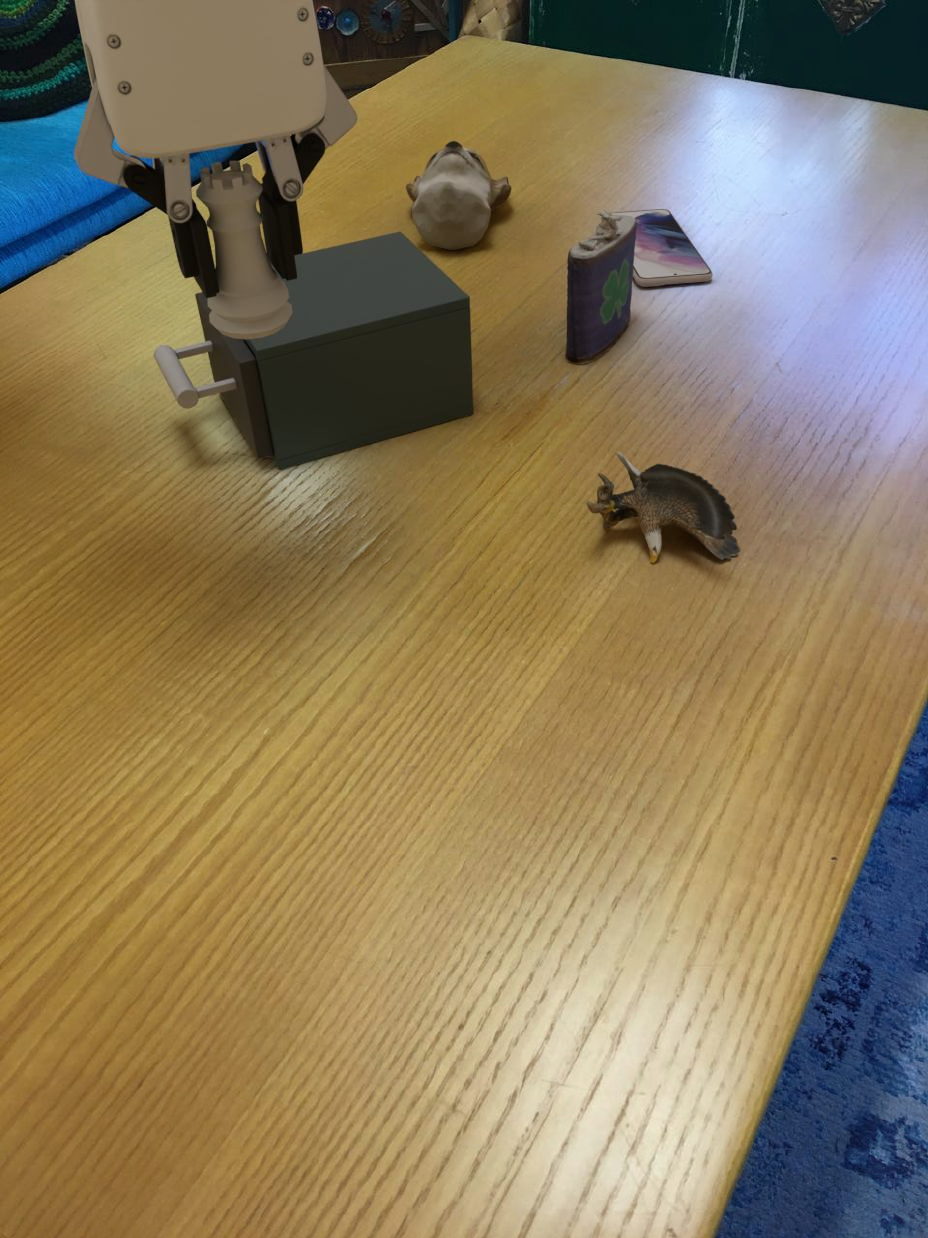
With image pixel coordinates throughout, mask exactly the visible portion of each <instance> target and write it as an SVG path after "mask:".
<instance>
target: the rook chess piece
mask: <svg viewBox="0 0 928 1238" xmlns="http://www.w3.org/2000/svg"><path fill="white" fill-rule="evenodd" d="M222 165H223V164H222V162H221V161H217V162H213V163H210V166H211V172H212V173H211V172H210V168H209V167H207V166H203V167H202V168H201V169H200V170H199V173H200V174H199V175H200V183H199V185H198V187H197V189H196V191H195V197H196V198H197V199H198V200H199V201H200V202H201V203H202V204H203V205H204V206H206V208H207V209H208V213H209V216H208V217H207V219H206V224H207V228H208V229H210V230H211V233H212V238H213V243H214V259H215V261H214V262H215V270H216V275H217V280H218V286H219V291H220V292H219V293H216V295H217V296H215V297H211V298H207V300H208V307H209V308H210V309H211V310H212V311H211V313H210V314H209V321H210V323H211V324H212V325H213V326H214V327H215V328H216V329H217V330H219V331H220V332H221V333H222V334H223V335H226V336H228V337H231V338H235V339H255V338H262V337H265V336H269V335H272V334H274V333H276V332H278V331H279V330H281V329H282V328H284V326H285V325H286V323H287V322H288V320H289V318H290V316H291V315H292V313H293V311H292V305H291V304H290V303H288V302H287V300H288V298H289V293H288V289H287V287H286V285H285V283H284V282H283V281H281V280H280V279H279V278H278V275H277V271H275V270H274V269H273V268H272V266H271V264H270V262H269V259H268V256H267V252H266V246H265V242H264V238H263V235H262V232H261V225H262V221H263V217H262V215H261V214H260V211H258V208H257V202H258V198H259V196H260V194H261V192H262V190H263V188H262V184H261V183H262V182H260V181H259V180H258V179H257V178H256V177H255V176H254V173H253V168H252V167H253V166H252V165H251V164H249V163H248V162H246V163H242V166H241V161H240V160H229V169H228V170H227V169H226V170H223V166H222Z"/></svg>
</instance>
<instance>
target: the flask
mask: <svg viewBox="0 0 928 1238" xmlns="http://www.w3.org/2000/svg"><path fill="white" fill-rule="evenodd" d="M610 213H611V212H607V211H606V210H602V211H597V212H596V215H597V216H599V217H600V218H601V217H602V219H603V221H601V222H600V223H599V224H598V226H597V227H596V229H595V233H594V234H593V235H591V236H590V237H587V238H586V239H585V240H582V239H580V240H579V241H578V243H576V244H573V246H571V248H570V249H569V250H568V254H567V259H566V261H567V262H566V263H567V268H566V269H567V275H566V278H567V280H566V284H567V285H566V286H567V288H566V297H567V298H566V348H565V359H566V362H567V363H572V364H574V365H585V364H589V363H591V362H593V361H595V360H597V359H598V358H600V357H601V356H603V355H604V354H606V352H608V351H610V349H612V347H613V346H614V345H615V344H617V343H616V342H617V341H618V340H619V339H620V338H621V337H622V335H623V334H624V333H625V332H626V331H627V329H628V327H629V324H630V320H631V311H632V310H631V303H632V295H633V278H634V277H633V264H634V251H635V240H636V229H637V221H636V219H635V218H633V217H632V216H627V215H614V214H610Z"/></svg>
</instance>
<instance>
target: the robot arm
mask: <svg viewBox="0 0 928 1238" xmlns="http://www.w3.org/2000/svg"><path fill="white" fill-rule="evenodd" d="M74 5H75V10H76V16H77V21H78V26H79V31H80V35H81V36H80V37H81V42H82V47H83V52H84V56H85V61H86V66H87V71H88V76H89V80H90V84H91V90H90V93H89V98H88V101H87V105H86V108H85V111H84V115H83V118H82V122H81V125H80V128H79V133H78V137H77V140H76V143H75V145H74V150H73V157H74V158H73V159H74V161H75V162H76V164H77V166H78V169H80V171H81V172H82V173H83V174H85V175H87V176H90V177H92V178H96V179H98V180H100V181H104V182H107V183H109V184H113V185H114V186H120V187H122V188H126V189H128V190H130V191H131V192H132V193H134V195H137V196H138V197H140V198H141V199H143V200H144V201H145V202H147V203H148V204H151V206H153V207H154V208H156V209H157V210H159V211H161V212H162V213H164V214H165V215H166V216H167V218H168V222H169V227H170V231H171V236H172V241H173V245H174V250H175V255H176V259H177V263H178V266H179V270H180V272H181V275H182V276H183V279H191V278H193V279H194V280H195V283H196V284H197V285H198V287H199V289H200V291H201V292H203V294H204V295H205V297H206V298H211V297H215V296H217V295H216V293H219V292H220V291H219V286H218V280H217V275H216V270H215V267H216V264H215V261H214V254H213V250H212V244H211V239H210V234H209V230H208V229H209V228H208V226H207V220H206V219H205V218H204V216H203V215H202V213H201V212H200V211H199V209H198V207H197V206H198V205H197V203H196V201H195V200H194V199H193V191H192V175H191V159H190V158H191V157H190V154H193V153H194V154H195V153H200V152H205V151H210V150H211V151H213V150H216V149H223V148H229V147H233V146H240V145H245V144H246V145H247V144H250V143H255V147H256V150H257V153H258V157H259V160H260V163H261V164H260V165H261V167H262V171H263V173H264V175H263V176H262V177H261V182H260V183H261V184H262V188H263V190H262V192H261V194H260V196H259V198H258V200H257V202H258V208H259V213H260V214H261V215H262V217H263V221H262V222H261V227H262V232H263V241H264V246H265V249H266V253H267V256H268V259H269V261H270V262H271V264H272V265H273V267H274V268H275V269H276V271H277V272H278V273H279V275H280V276H281V278H282V279H286V280H287V281H289V280H293V279H297V271H296V264H295V255H299V254H303V253H304V246H303V238H302V231H301V224H300V216H299V210H298V202H297V201H298V200H300V198H301V197H302V195H303V193H304V184H305V183H306V181H307V180H308V179H309V177H310V175H311V174H312V173H313V171H314V170H315V168H316V167H317V165H318V164H319V163H320V161H321V160H322V158H323V157H324V155H325V153H326V150H327V149H328V148H329V147H332V146H334V145H335V144H336V143H337V142H339V140H340V139H341V138H342V137H344V136H345V135H346V134H347V133H349V131H351V130H352V129H353V128H354V127H355V125H356V124H357V122H358V113H357V111H356V110H355V108H354V107H353V105H352V103H350V101H349V99H348V98H347V96H346V95H345V94H344V92H343V90H342V89H341V87H340V86H339V85H338V83H337V81H336V80H335V79H334V77H333V76H332V75H331V73H330V72H329V70H328V68H327V67H326V65H325V64H324V60H323V53H322V47H321V39H320V35H319V28H318V22H317V18H316V13H315V12H316V11H315V7H314V2H313V0H74ZM114 141H116V143H117V146H118V147H119V148H120V150H122V152H121V151H119V150H116V149H114V148H113V146H114V145H113V144H114ZM123 152H124V153H123ZM125 153H126V154H125ZM142 159H151V161H152V165H149V164H148V163H146V162H145V161H143V160H142Z"/></svg>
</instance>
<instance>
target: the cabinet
mask: <svg viewBox="0 0 928 1238" xmlns="http://www.w3.org/2000/svg"><path fill="white" fill-rule="evenodd" d="M269 262H270V261H269ZM270 264H271V262H270ZM295 264H296V271H297V279H293V280H289V281H287V280H286V279H282V278H281V276H280V275H279V273H278V272H277V275H278V278H279V279H280V280H281V281H283V282H284V283H285V285H286V287H287V289H288V293H289V298H288V300H287V302H288V303H290V304H291V305H292V311H293V313H292V315H291V316H290V318H289V320H288V322H287V323H286V325H285V326H284V328H282V329H281V330H279V331H278V332H276V333H274V334H272V335H269V336H265V337H262V338H255V339H245V341H246V342H247V344H248V345H249V347H250V348H251V350H252V351H253V353H254V354H255V356H256V362H257V367H258V373H259V378H260V383H261V389H262V394H263V399H264V405H265V410H266V416H267V421H268V426H269V432H270V437H271V442H272V448H273V453H274V455H273V456H270V458H271V460H272V461H273V463H274V464H275V466H276V468H277V469H278V470H279V471H280V470H284V469H287V468H291V467H294V466H298V465H301V464H305V463H308V462H311V461H316V460H318V459H322V458H325V457H329V456H333V455H337V454H339V453H342V452H346V451H350V450H354V449H356V448H361V447H364V446H367V445H370V444H374V443H377V442H381V441H384V440H388V439H392V438H395V437H398V436H402V435H406V434H408V433H412V432H416V431H419V430H423V429H426V428H429V427H433V426H436V425H440V424H443V423H446V422H450V421H455V420H457V419H458V420H459V419H461V418H464V417H468V416H471V415H474V390H473V389H474V388H473V387H474V386H473V384H474V383H473V355H472V354H473V353H472V326H471V325H472V323H471V319H472V318H471V307H470V306H471V298H470V296H469V295H468V294H467V293H466V292H465V291H464V290H463V289H462V288H461V287H460V286H459V285H458V284H457V283H455V281H454V280H452V279H451V278H450V277H449V276H448V275H447V274H446V273H445V271H443V270H442V269H441V268H440V267H439V266H438V265H436V264H435V263H434V261H432V260H431V259H430V258H429V257H428V256H427V255H426V254H425V253H424V252H423V251H422V250H421V249H420V248H418V246H416V244H415V243H414V242H412V241H411V240H410V239H409V238H408V237H407V236H406V234H404V233H403V232H402V231H395V232H391V233H387V234H382V235H377V236H373V237H369V238H365V239H364V238H363V239H360V240H356V241H355V240H354V241H351V242H348V243H341V244H338V245H334V246H330V247H325V248H321V249H316V250H312V251H308V252H303V253H302V254H299V255H295ZM271 266H272V268H273V269H274V270H275V271H276V269H275V268H274V267H273V265H272V264H271Z"/></svg>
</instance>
